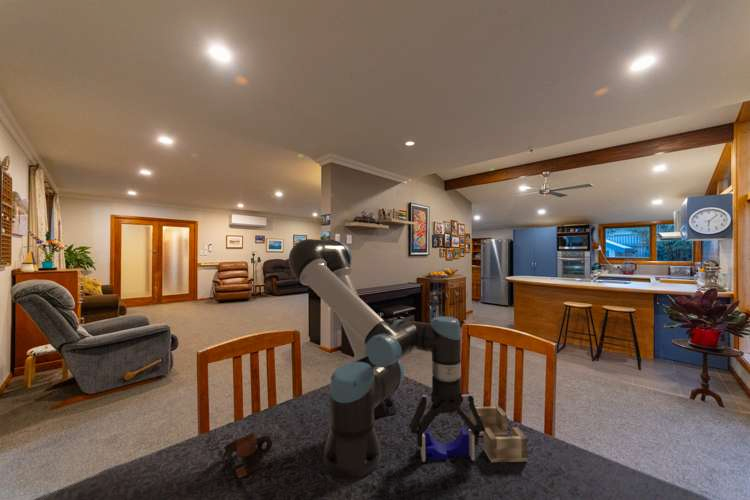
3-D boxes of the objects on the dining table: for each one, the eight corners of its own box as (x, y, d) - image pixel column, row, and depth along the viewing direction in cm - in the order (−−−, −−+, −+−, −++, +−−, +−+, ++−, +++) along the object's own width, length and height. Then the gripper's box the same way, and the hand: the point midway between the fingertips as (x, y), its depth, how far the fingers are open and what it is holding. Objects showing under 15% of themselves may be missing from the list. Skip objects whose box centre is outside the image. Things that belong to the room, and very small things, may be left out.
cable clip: (424, 459, 79) (424, 436, 79) (422, 448, 83) (422, 426, 83) (470, 460, 78) (470, 438, 78) (465, 449, 82) (465, 427, 82)
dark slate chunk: (391, 387, 120) (391, 376, 120) (397, 418, 98) (397, 403, 98) (353, 388, 120) (353, 376, 120) (351, 419, 98) (351, 405, 98)
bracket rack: (491, 462, 77) (491, 439, 77) (469, 426, 93) (469, 406, 93) (527, 461, 77) (527, 438, 77) (499, 425, 93) (499, 406, 93)
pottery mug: (224, 487, 70) (217, 449, 72) (231, 479, 78) (224, 445, 81) (276, 460, 74) (267, 426, 77) (277, 454, 83) (269, 423, 85)
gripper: (402, 383, 75) (403, 469, 75) (498, 381, 75) (499, 466, 75) (399, 371, 82) (399, 449, 82) (486, 369, 83) (487, 446, 83)
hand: (447, 457), depth 79 cm, fingers open, 12 cm apart
